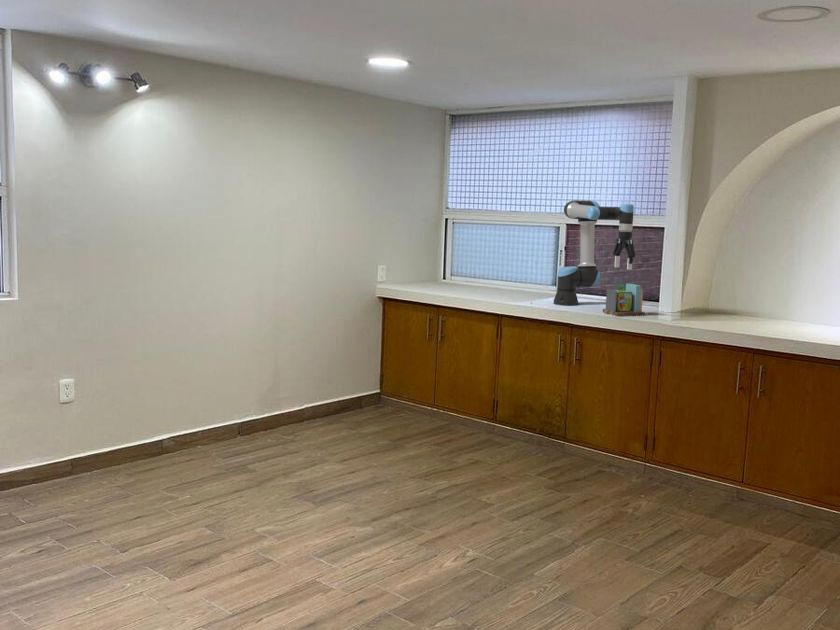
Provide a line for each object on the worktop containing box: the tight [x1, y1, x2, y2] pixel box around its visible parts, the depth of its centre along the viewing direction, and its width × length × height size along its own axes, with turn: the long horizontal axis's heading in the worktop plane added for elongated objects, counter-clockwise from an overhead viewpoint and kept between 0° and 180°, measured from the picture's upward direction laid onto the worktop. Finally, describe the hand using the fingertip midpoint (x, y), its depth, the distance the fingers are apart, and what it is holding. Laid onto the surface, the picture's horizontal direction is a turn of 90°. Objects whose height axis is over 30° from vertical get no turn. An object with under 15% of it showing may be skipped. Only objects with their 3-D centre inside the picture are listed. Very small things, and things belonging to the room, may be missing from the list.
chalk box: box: [613, 284, 632, 312], centre depth 464 cm, size 9×9×15 cm
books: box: [625, 283, 644, 312], centre depth 467 cm, size 11×5×15 cm, turn 17°
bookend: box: [605, 288, 617, 312], centre depth 463 cm, size 10×1×12 cm, turn 17°
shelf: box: [602, 308, 646, 317], centre depth 466 cm, size 16×18×2 cm
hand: (623, 268), depth 462 cm, fingers open, 13 cm apart
